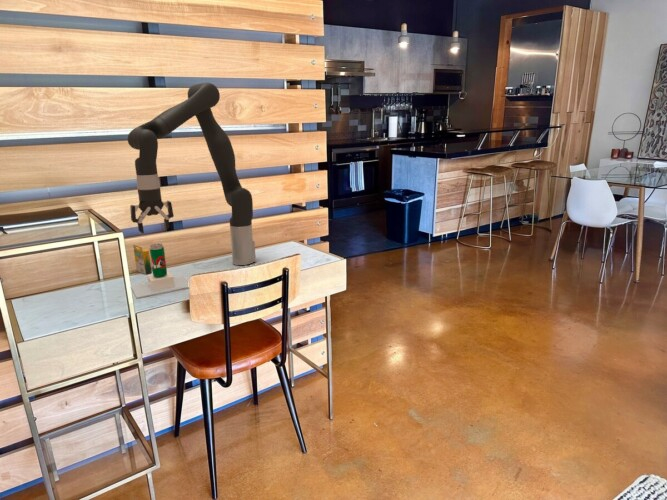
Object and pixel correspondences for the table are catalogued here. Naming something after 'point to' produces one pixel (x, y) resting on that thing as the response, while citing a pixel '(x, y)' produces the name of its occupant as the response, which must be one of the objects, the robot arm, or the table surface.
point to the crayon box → (142, 260)
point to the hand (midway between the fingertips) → (154, 231)
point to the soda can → (158, 260)
